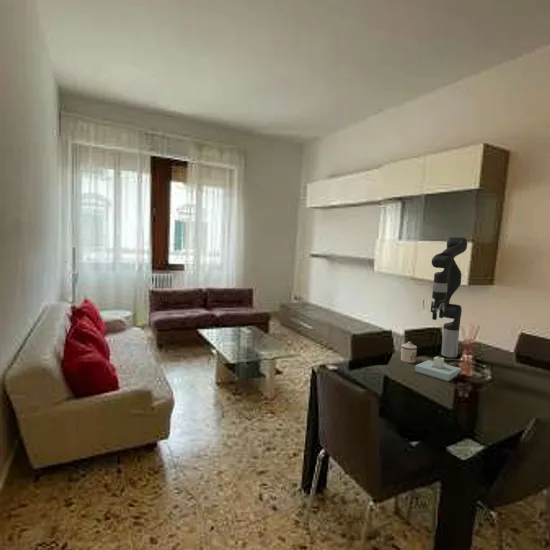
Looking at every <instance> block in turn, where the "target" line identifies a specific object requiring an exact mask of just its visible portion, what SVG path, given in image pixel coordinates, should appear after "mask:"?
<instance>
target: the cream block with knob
mask: <svg viewBox="0 0 550 550" xmlns="http://www.w3.org/2000/svg"><path fill="white" fill-rule="evenodd" d="M432 361H433V367H434V368H437V369H441V370H442V369H443V367H444V364H445V357H441V356H435V357H433V360H432Z"/></svg>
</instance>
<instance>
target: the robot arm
mask: <svg viewBox="0 0 550 550" xmlns="http://www.w3.org/2000/svg"><path fill="white" fill-rule="evenodd" d="M467 248H468V240H467V238H465V237H457V236H456V237H453V236H451V237H448V239H447V242H446V248H445V249H444V250H443V251H442V252H440V253H437V254H435V255H434V256H433V257H432V259H431V266H432V267H433V268H436V269H443V270H442V271H438V272H437V271H436V272H435V273H434V274H433V283H432V284H433V285H432V294H431V295H432V296H431V298H432V299H433V300H434V301H431V304H430V313H432V314H431V315H432V316H431V318H432V319H431V320H433V321H436V320H437V318H440V319H444V318H447V319H451V320H452V319H453V321H451V322H446V323H444V324H443V326H442V327H443V328H442V341H441V354H440V355H441V356H444V357H447V358H457V357H458V352H459V351H458V349H459V338H460V326H461V319H462V318H461V317H462V312H463V311H462V305H460V304H456V303H455V304H454V303H450V302H451V299H452V296H453V295H454V294H455V292H456V291H457V290H458V289H459V287H461V283H462V274H463V273H462V271H461V270H460V268H459V266H458V264H457V262H456V260H455V258H456V257H457V256H459V255H461V254H463V253H464V252H466V250H467ZM438 313H439V314H438Z"/></svg>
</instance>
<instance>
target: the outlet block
mask: <svg viewBox="0 0 550 550" xmlns="http://www.w3.org/2000/svg"><path fill="white" fill-rule="evenodd" d="M460 371H461V372H462V368H461V367H457V366H453V365H449V364H445V363H444V367H443V369H442V370H441V369H437V368H434V367H433V360H431V359H427V360H425V361H423V362H421V363H418V364H416V365H415V366H414V373H415V374H419V375H422V376H426V377H429V378H433V379H436V380H439V381H442V382H444V383H450V382H451V380H452V379H453V378H454V377H455V376H456V375H457V374H458V373H459V372H460ZM449 381H450V382H449ZM452 381H453V380H452Z"/></svg>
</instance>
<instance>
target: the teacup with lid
mask: <svg viewBox="0 0 550 550" xmlns="http://www.w3.org/2000/svg"><path fill="white" fill-rule="evenodd" d="M400 347H401V348H400V349H401V350H400V360H401V362H404V363H407V364H409V363H410V364H414V363H416V361H417V352H418V351H417V350H418V347H417V345H414V343H412V341H407V342H406V343H403V344H401V345H400Z"/></svg>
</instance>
